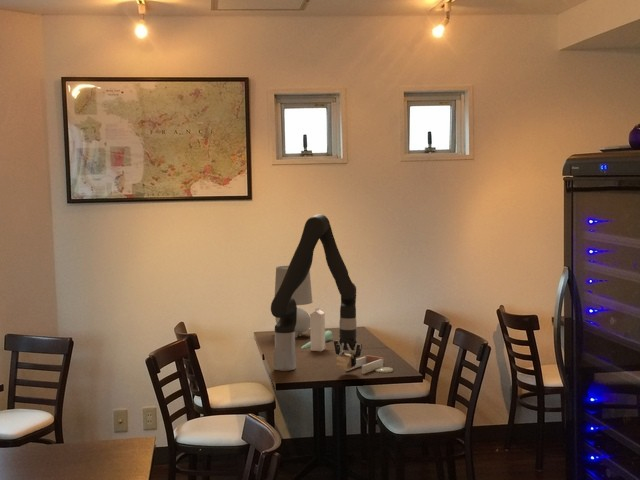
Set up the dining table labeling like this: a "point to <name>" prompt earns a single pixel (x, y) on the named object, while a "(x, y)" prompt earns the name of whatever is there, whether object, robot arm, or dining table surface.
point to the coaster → (384, 369)
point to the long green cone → (327, 338)
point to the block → (344, 362)
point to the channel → (369, 363)
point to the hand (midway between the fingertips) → (347, 365)
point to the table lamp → (297, 299)
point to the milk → (317, 330)
